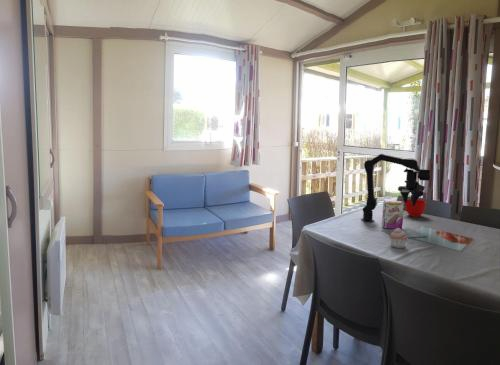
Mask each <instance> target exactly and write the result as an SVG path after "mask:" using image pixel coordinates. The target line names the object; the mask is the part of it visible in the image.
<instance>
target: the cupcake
mask: <svg viewBox="0 0 500 365" xmlns="http://www.w3.org/2000/svg"><path fill="white" fill-rule="evenodd" d="M406 237H407V235H406V234H405V233H404V232H403V231H401V229H400V228H397V229H395V230H394V231H393V232H392V233H391V235H389V237H388V238H389V241H390V246H391V247H392V248H394V249H404V248H405V246H406V243H407V241H408V239H409V238H406Z"/></svg>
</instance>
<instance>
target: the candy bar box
mask: <svg viewBox="0 0 500 365" xmlns="http://www.w3.org/2000/svg"><path fill="white" fill-rule="evenodd" d="M404 203H405V202H404V201H400V200H383V204H382V216H381V217H382V219H381V227H382V229H383V230H388V229H397V228H400V229H403V220H404V209H405V204H404Z"/></svg>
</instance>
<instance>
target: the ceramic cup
mask: <svg viewBox="0 0 500 365" xmlns="http://www.w3.org/2000/svg"><path fill="white" fill-rule="evenodd" d="M403 203H404V211H405V212H407V214H408V215H409V216H410V217H415V218H417V217H420V216H422V215H423V213H424V212H425V209H426V205H427V201H425V200H422V199H417V201H416V204H415V206H412V201H411V198H408V199H407V203H405V202H403ZM404 211H403V212H404Z"/></svg>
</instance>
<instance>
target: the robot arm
mask: <svg viewBox="0 0 500 365" xmlns="http://www.w3.org/2000/svg"><path fill="white" fill-rule="evenodd" d="M381 161H382V162H383V161H384V162H387V163H392V164H396V165H401V166H403V167H405V169H404V170H403V172H404V173H406V177H405V178H406V180H404V183H405V185H399V186H398V187H397V191H399V193H400V195H401V197H402V199H403V203H407V200H409V196H410V199H411V201H412V206H415V204H416V201H417V200H419V198H420V197H423V196H424V195H425V192H424V191H425V188H426V186H424V185H421V184H420V183H419V181H429V182H430V179H431V169H430V168H429V169H423V168H422V169H421V167H420V166H419V164H418V160H417V159H414V158H402V157H397V156H393V155H388V154H385V153H380V154H378V155H377V156H375V157H373V158H372V159H367V160H365V161H364V163H363V166H364V170H365V174H366V183H367V199H366V205H364V207H363V208H362V218H360V220H361V221H363V222H364V223H365V222H375V220H374V219H373V210H375V209H376V208H377V205H378V204H379V202H378V197H376V196H375V184H374V183H375V182H374V171H375V165H376V164H378V163H379V162H381ZM417 179H418V180H419V181H417ZM409 194H410V195H409Z"/></svg>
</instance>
